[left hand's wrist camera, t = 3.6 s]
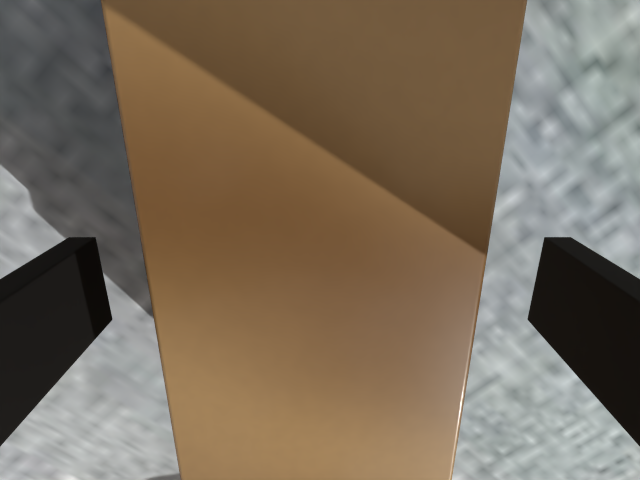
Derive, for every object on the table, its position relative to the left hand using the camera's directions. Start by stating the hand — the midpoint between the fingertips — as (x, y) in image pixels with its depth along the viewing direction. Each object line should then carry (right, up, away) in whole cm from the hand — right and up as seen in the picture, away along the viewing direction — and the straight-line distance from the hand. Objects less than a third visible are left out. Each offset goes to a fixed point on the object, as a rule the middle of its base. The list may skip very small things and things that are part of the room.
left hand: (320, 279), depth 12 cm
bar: (0, +32, -10) cm, 34 cm away
